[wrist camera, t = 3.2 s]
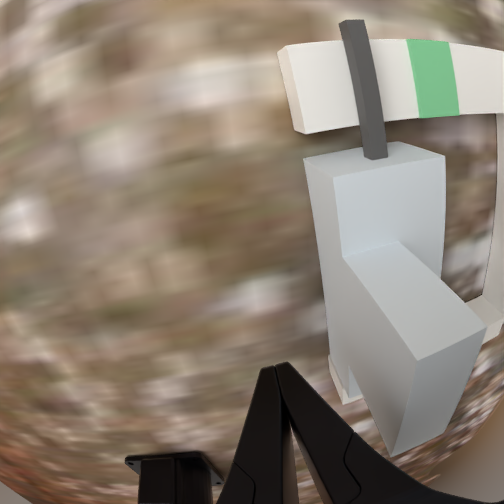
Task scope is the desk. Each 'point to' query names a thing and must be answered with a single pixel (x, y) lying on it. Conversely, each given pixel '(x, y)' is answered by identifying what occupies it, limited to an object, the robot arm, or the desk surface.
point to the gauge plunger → (389, 271)
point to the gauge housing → (407, 116)
